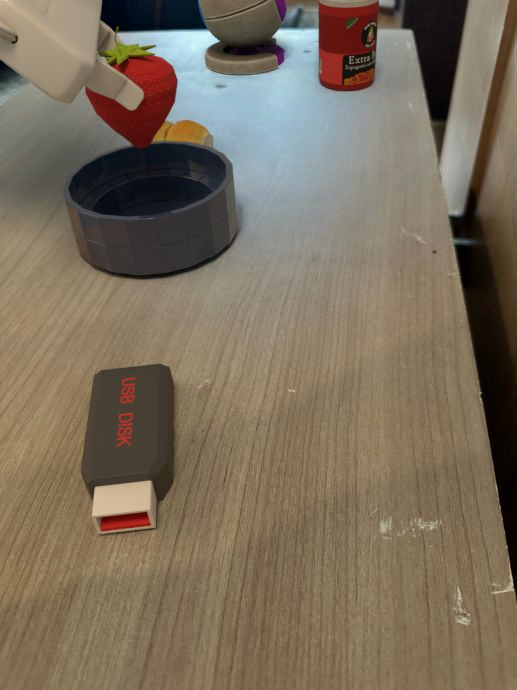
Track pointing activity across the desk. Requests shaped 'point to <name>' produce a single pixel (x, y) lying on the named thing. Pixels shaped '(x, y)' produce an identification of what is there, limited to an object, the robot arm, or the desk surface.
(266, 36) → the webcam
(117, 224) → the bowl
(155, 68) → the strawberry
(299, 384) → the desk surface
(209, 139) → the bread roll
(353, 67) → the canned food
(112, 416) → the usb drive
